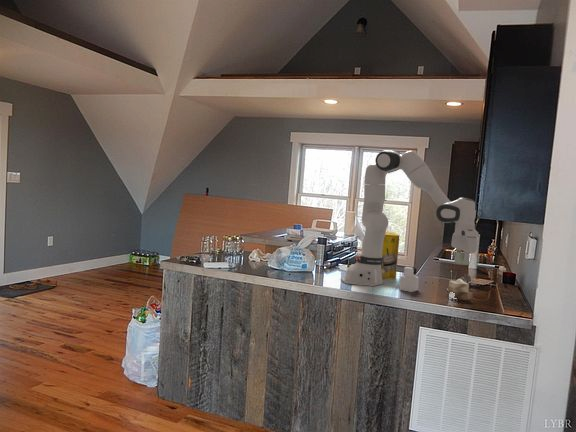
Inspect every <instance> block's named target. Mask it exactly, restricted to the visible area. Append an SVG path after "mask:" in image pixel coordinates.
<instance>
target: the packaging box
mask: <svg viewBox="0 0 576 432" xmlns="http://www.w3.org/2000/svg"><path fill="white" fill-rule="evenodd" d="M399 246H400V235H399V234H397V233H396V232H390V231H386V234H385V238H384V242H383V251H382V257H383V264H382V268H381V271H382V279H387V280H388V279H389V280H391V279H392V280H396V279H397V273H398V272H397V271H398V270H397V269H398V257H399Z"/></svg>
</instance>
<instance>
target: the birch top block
mask: <svg viewBox="0 0 576 432" xmlns="http://www.w3.org/2000/svg"><path fill="white" fill-rule="evenodd" d="M448 283H449V284H448V288H449V289H451V290H452V291H454V292H468V293H469V290H470V289H469V288H470V284H469V283H467V282H466V281H464V280H449V281H448Z"/></svg>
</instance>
